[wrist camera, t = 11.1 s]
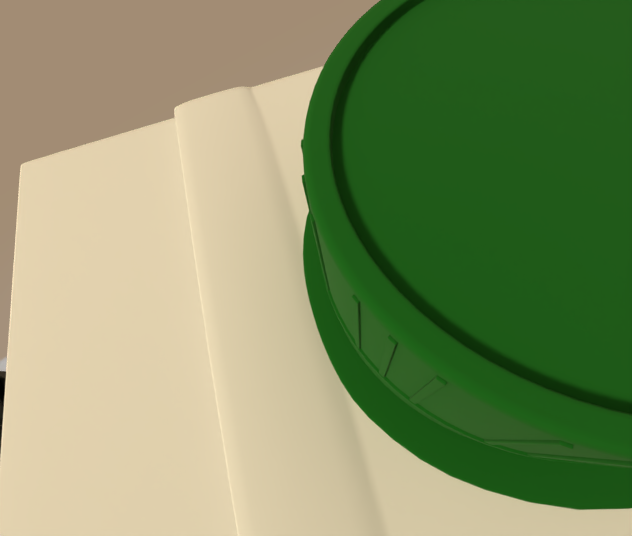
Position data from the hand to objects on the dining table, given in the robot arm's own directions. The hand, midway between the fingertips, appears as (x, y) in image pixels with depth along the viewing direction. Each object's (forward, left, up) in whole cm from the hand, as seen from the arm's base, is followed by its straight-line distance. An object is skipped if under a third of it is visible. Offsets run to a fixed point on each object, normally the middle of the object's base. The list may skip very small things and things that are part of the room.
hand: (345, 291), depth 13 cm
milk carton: (+1, +3, -10) cm, 10 cm away
